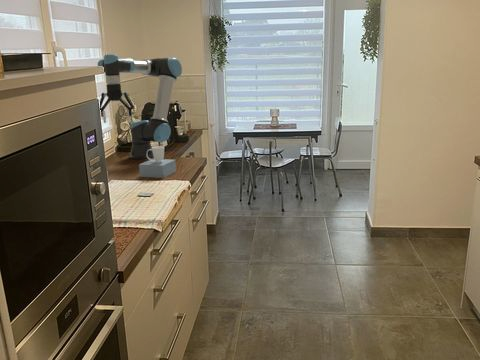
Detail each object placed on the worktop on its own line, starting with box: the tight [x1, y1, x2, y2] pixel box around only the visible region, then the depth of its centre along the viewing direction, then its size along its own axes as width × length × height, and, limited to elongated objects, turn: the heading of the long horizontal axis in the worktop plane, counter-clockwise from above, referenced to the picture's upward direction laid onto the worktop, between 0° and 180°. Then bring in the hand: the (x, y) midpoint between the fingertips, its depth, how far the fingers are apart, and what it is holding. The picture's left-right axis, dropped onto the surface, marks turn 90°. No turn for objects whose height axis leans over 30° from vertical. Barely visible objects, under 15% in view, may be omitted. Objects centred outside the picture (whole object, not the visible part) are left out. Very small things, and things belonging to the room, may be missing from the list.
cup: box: [146, 145, 165, 163], centre depth 243 cm, size 7×10×8 cm
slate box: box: [138, 158, 177, 179], centre depth 244 cm, size 15×14×7 cm
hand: (117, 122), depth 254 cm, fingers open, 13 cm apart
